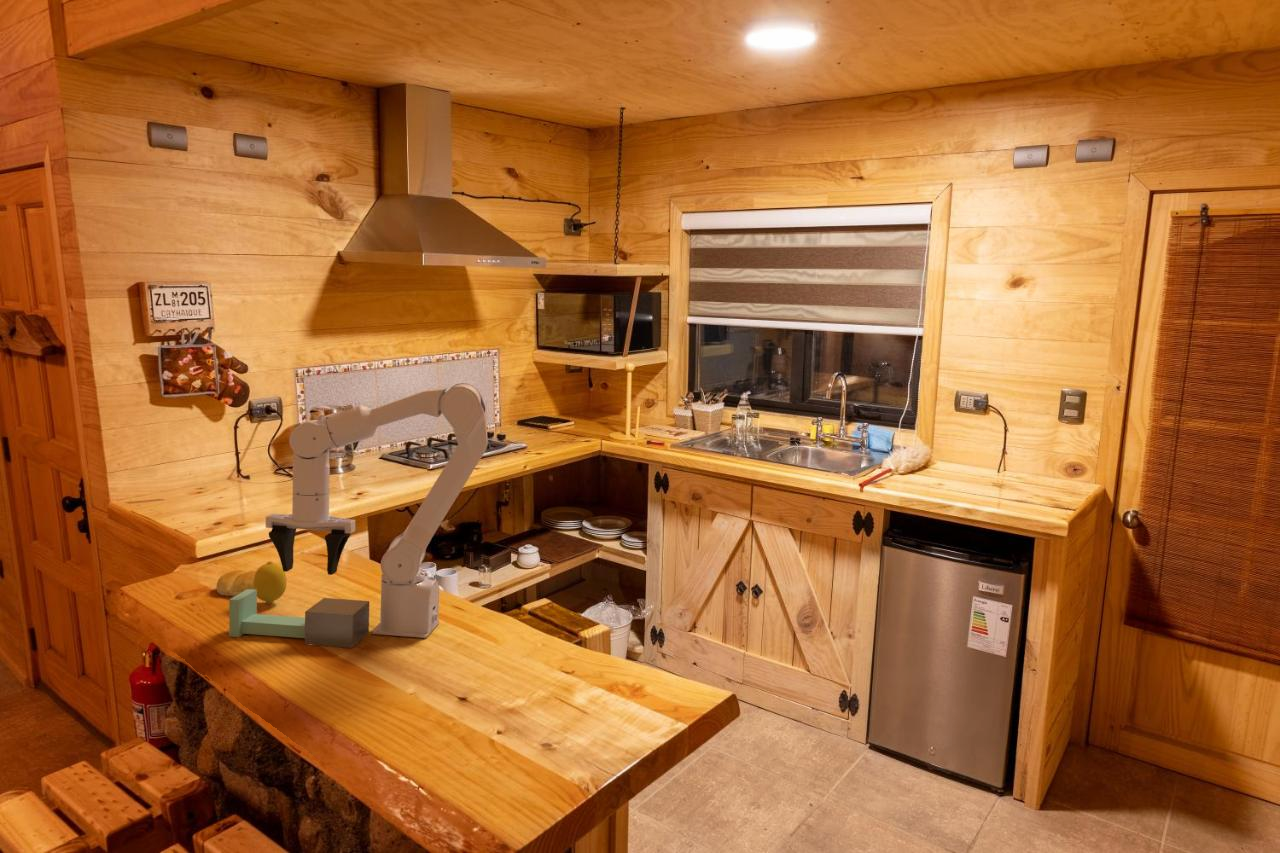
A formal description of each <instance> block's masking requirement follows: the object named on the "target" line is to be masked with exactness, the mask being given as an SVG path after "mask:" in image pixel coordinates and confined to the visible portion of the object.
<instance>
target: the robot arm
mask: <svg viewBox="0 0 1280 853" xmlns="http://www.w3.org/2000/svg"><path fill="white" fill-rule="evenodd" d="M447 389H448V390H447ZM421 414H423V415H428V416H431V417H435V418H439V417H440V416H441V415H443V417H444V418H445V419H446V421H447V423H449V426H451V428H452V430H453V433H454V436H455V438H456V442H457V446H456V448H455V450H454V451H453V453H452V454H451V456H450V457H449V459H448V461H447V463H446V464H445V466H444V467H443V469H442V470H441V472H440V474H439V476H438V477H437V479H436V480H435V482H434V484H433V485H432V487H431V489H430V490H429V492H428V493H427V495H426V496H425V498H424V500H423V501H422V503H421V505H420V506H419V508H418V509H417V511H416V513H415V514H414V515H413V518H412V519H411V521H410V522H409V524H408V525H407V527H406V528H405V530H404V531H403V532H402V533H401V534H400V535H398V536H396V537H394V538H393V539H392V540H391V543H390V544H389V547H388V548H387V550H386V552H385V553H384V554H383V556H382V557H381V560H380V570H381V573H382V574H381V577H380V578H381V579H380V585H381V586H380V617H379V618H380V621H379V623H378V624H377V625H376V626H375V627H374V628H373V629H372V630H371V632H370V633H371V634H372V635H381V636H382V635H383V636H395V637H396V636H399V637H410V638H422V639H423V638H424V639H426V638H427V637H428V636H429V635H430V634H431V633H432V632H433V630H434V629H435V628H436V627H437V626H438V624H439V623H440V619H439V614H440V612H439V610H440V609H439V608H440V585H439V582H438V581H437V580H434V579H430V578H427V577H426V573H425V572H424V570H423V568H422V567H421V564H422V563H423V560H424V559H425V557H426V550H427V548H428V545H429V544H430V542H431V541H432V538H433V537H434V535H435V533H436V532H437V530H438V528H439V527H440V525H441V524H442V523H443V520H444V518H445V517H446V515H447V514H448V512H449V511H450V509H451V508H452V506H453V504H454V502H455V501H456V499H457V498H458V497H459V494H460V493H461V492H462V489H464V486H465V485H466V483H467V482H468V481H469V479H470V477H471V475H472V474H473V472H474V470H475V469H476V467H477V465H478V464H479V462H480V460H481V459H482V457H483V456H484V454H485V452H486V451H487V448H488V443H489V442H488V424H487V423H488V422H487V406H486V404H485V402H484V399H483V396H482V394H481V392H480V391H479V389H478V388H477V387H476V386H474V385H472V384H471V383H468V382H458V383H455V384H454V385H452V386H451V387H450V388H449V385H445V386H439V387H435V388H429V389H425V390H421V391H420V392H417V393H414V394H411V395H408V396H405V397H403V398H400V399H396V400H394V401H392V402H388V403H386V404H383V405H380V406H377V407H374V408H369V407H368V406H366V405H363V404H358V405H355V404H354V403H353V402H352V403H349V404H346V405H344V409H343V410H342V409H341V410H340V411H339V410H338V411H337V412H334V413H330V414H327V415H325V413H321V414H319V415H318V414H317V415H316V419H312V420H311V419H310V420H307V421H305V422H303V423H301V424H298V425H297V426H295V428H293V430H292V431H291V432H290V435H289V439H288V441H289V446H290V449H291V451H293V464H292V500H291V501H292V507H291V508H292V510H291V511H292V513H291V514H287V513H285V514H284V513H283V514H281V513H280V514H277V513H271V514H269V515H266V516H265V529H271V531H269V532H268V537H269V538H270V540H271V542H272V543H273V545H274V547H275V549H276V551H277V554H278V557H279V560H280V564H281V567H282V568H283V571H285V573H287V572H289V571H290V570H292V569H293V568H294V545H295V538H296V531H297V530H311V531H324V532H330V533H328V534H326V535H325V536H324V539H325V545H326V551H327V564H326V568H327V569H326V571H327V575H328V576H331V575H334V574H335V573H337V571H338V567H339V563H340V559H341V556H342V554H343V553H342V552H343V551H344V548H345V546H346V544H347V542H348V540H349V539H350V537H351V535H352V533H354V532H356V519H350V518H342V517H337V516H331V515H330V483H331V482H330V481H331V480H330V477H331V476H330V471H331V468H330V467H331V466H330V448H331V449H339V448H342V447H346V446H348V445H352V444H354V443H357V442H361V441H363V440H367V439H371V438H372V437H374V435H375V433H376V431H377V430H378V427H381V426H384V425H387V424H391V423H394V422H397V421H400V420H405V419H408V418H412V417H415V416H418V415H421Z"/></svg>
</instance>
